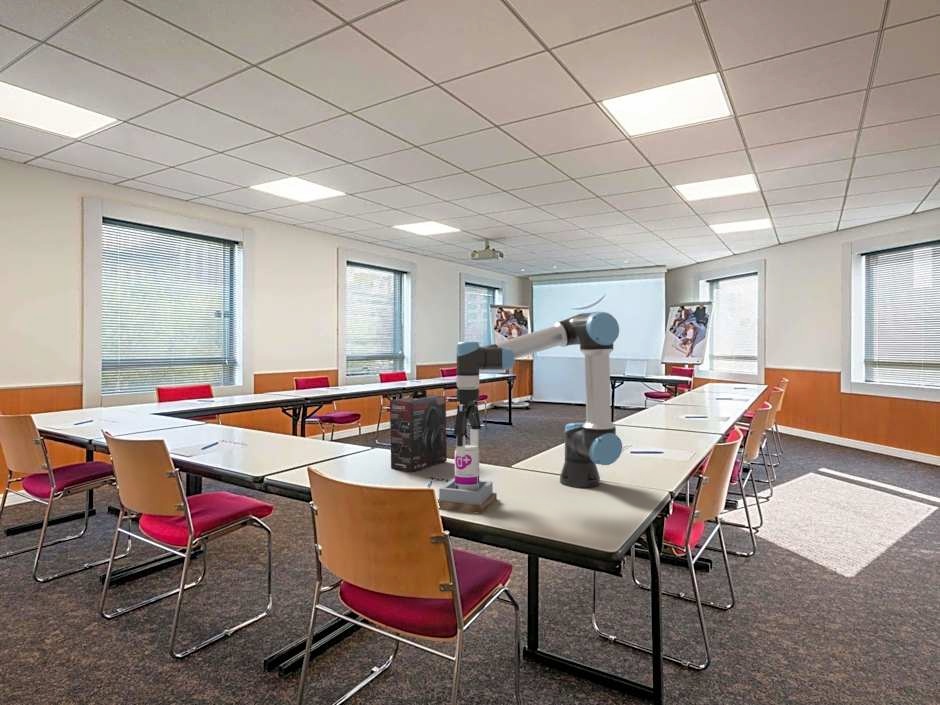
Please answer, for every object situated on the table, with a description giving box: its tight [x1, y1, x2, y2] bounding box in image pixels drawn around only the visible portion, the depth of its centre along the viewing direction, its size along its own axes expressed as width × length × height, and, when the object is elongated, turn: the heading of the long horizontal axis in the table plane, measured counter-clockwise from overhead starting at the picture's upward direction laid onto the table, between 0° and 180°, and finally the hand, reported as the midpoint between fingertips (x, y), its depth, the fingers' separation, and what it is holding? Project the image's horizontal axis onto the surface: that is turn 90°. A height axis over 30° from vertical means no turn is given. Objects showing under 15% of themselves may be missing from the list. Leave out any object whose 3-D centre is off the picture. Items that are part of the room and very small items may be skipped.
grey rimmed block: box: [438, 477, 494, 505], centre depth 174 cm, size 14×14×4 cm
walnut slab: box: [437, 492, 498, 514], centre depth 174 cm, size 16×16×3 cm
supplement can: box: [454, 444, 480, 491], centre depth 175 cm, size 8×8×15 cm
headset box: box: [389, 388, 448, 473], centre depth 229 cm, size 24×13×33 cm, turn 145°
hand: (467, 452), depth 174 cm, fingers open, 13 cm apart
